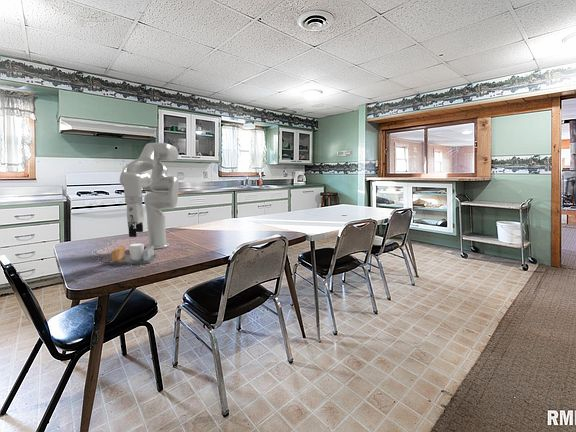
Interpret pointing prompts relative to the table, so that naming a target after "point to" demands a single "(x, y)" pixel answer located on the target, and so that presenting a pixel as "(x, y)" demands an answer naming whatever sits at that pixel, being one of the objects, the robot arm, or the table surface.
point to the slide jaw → (118, 253)
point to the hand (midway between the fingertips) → (136, 234)
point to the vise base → (147, 259)
